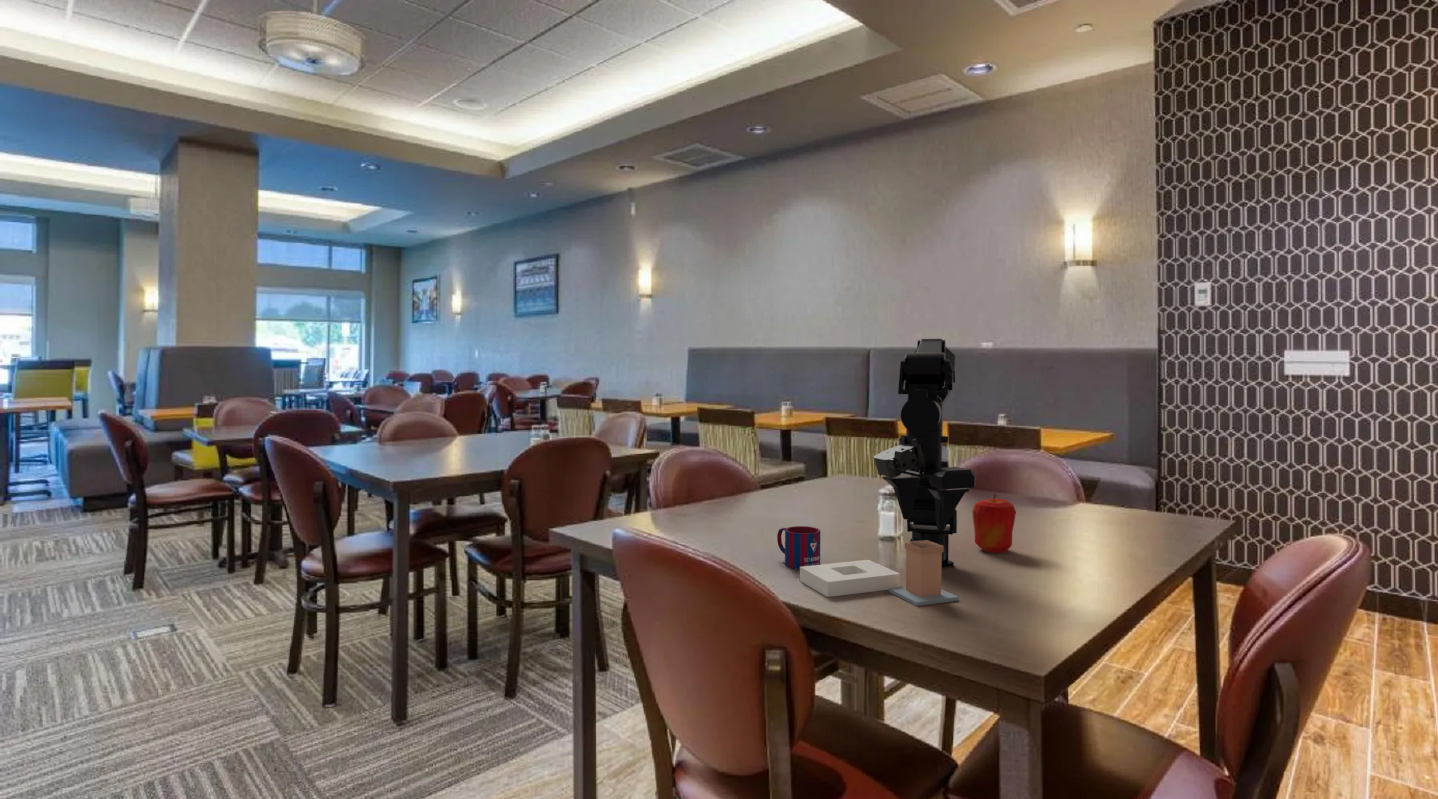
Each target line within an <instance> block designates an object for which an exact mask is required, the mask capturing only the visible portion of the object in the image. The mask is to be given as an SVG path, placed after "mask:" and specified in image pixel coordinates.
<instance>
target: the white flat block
mask: <svg viewBox="0 0 1438 799" xmlns="http://www.w3.org/2000/svg"><path fill="white" fill-rule="evenodd" d="M799 581H800V582H801V583H803V584H804V585H806V586H808V587H810V588H811V589H813V590H815V591H817V592H818V593H819V594H821V595H823V596H825V597H827V598H831V597H839V596H840V597H841V596H846V595H847V596H848V595H856V594H863V593H864V594H865V593H871V592H872V593H874V592H879V591H880V592H881V591H888V588H895V587H901V573H899V572H897V571H895V570H893V569H890V568H889V567H886V566H883V565H882V564H879V563H877V562H875V561H873V560H870V559H864V560H863V559H861V560H855V561H854V560H852V561H845V562H844V561H842V562H834V563H823V564H820V565H812V566H803V567H800V569H799Z"/></svg>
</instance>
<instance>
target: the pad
mask: <svg viewBox="0 0 1438 799" xmlns="http://www.w3.org/2000/svg"><path fill="white" fill-rule="evenodd" d="M887 592H888V593H890V594H892V595H894V596H896V597H898V598H900V599H902V600H904V601H906V602H908V603H910V604H912V605H914V606H916V607H920V606H925V605H926V606H928V605H934V604H935V605H937V604H943V603H949V602H957V601H959V600H960V599H959V598H960V597H959V596H958V595H955V594H953V593H951V592H948V591H946V590H944V589H942V588H941V594H940V595H933V596H925V597H919V596H917V595H915V594H913V593H911V592H909V591H907V590H906V585H905V586H900V587H895V588H888V590H887Z"/></svg>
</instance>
